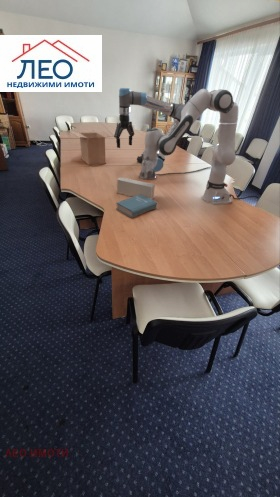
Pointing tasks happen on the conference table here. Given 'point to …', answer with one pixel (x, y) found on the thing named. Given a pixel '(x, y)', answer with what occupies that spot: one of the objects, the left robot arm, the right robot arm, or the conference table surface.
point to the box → (92, 146)
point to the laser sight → (139, 158)
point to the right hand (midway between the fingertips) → (148, 175)
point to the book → (136, 205)
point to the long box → (134, 188)
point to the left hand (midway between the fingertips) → (124, 146)
